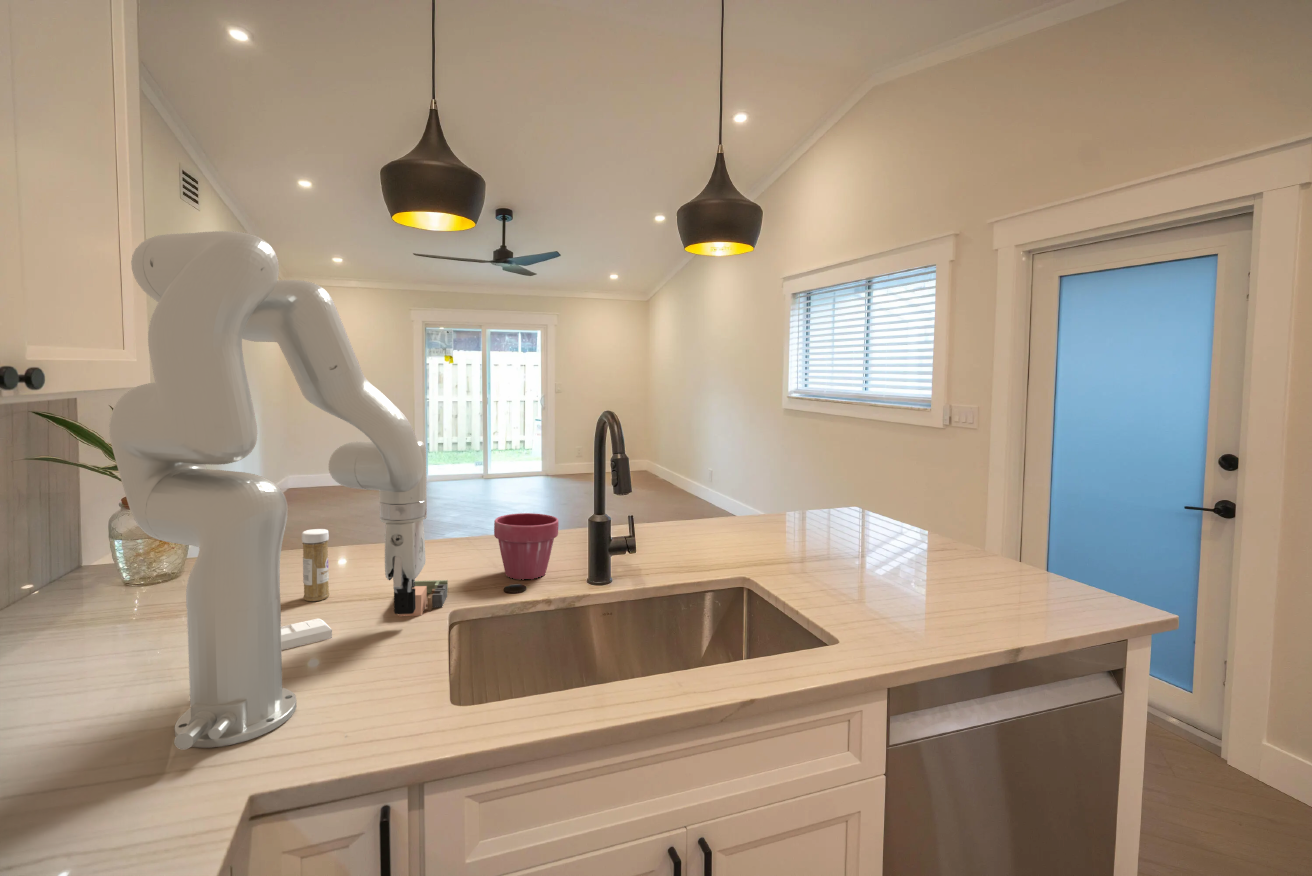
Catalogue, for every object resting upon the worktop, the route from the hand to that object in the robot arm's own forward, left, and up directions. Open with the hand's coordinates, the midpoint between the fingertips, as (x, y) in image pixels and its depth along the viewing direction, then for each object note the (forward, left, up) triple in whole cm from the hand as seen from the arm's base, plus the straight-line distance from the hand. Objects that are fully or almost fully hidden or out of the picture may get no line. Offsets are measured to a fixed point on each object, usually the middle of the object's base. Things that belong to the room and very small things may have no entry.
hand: (405, 611), depth 106 cm
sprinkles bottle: (+16, +20, -3) cm, 26 cm away
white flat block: (-4, +16, -3) cm, 17 cm away
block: (+8, 0, -3) cm, 8 cm away
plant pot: (+28, -20, -3) cm, 35 cm away
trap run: (+12, 0, -3) cm, 12 cm away
